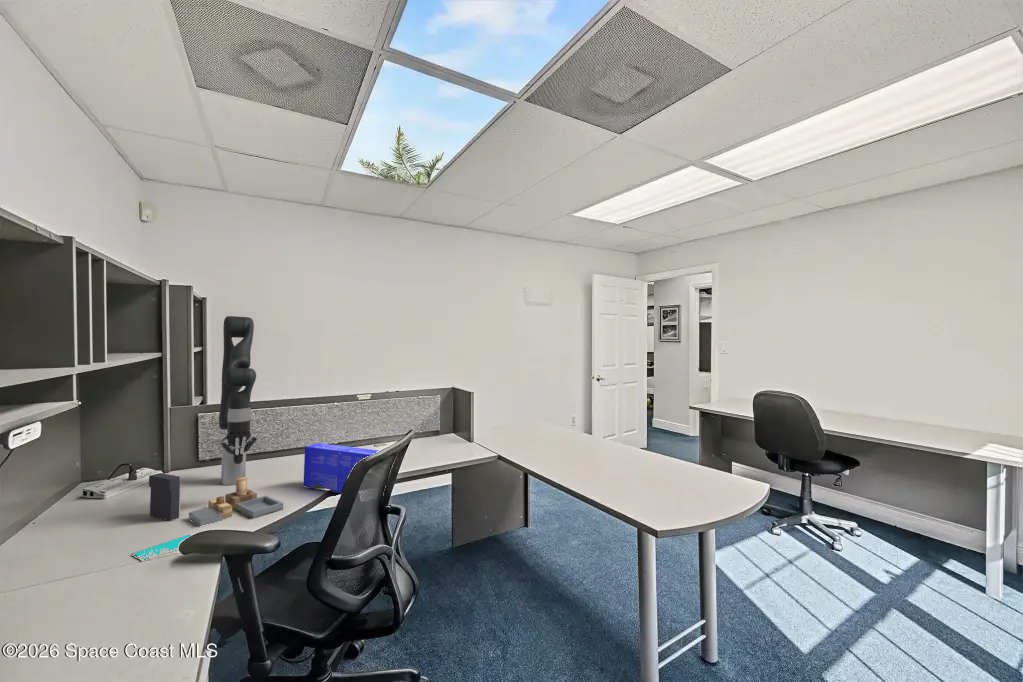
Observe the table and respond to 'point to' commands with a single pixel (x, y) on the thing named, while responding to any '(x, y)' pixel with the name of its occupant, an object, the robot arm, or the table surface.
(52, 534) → the table surface
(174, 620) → the table surface
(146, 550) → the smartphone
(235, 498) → the socket block
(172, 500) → the tall lidded box
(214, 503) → the stop block
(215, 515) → the grey rectangular block
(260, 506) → the tray
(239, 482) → the dowel
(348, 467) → the toner cartridge box
